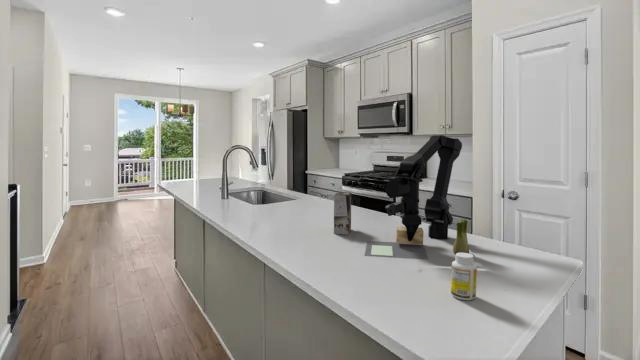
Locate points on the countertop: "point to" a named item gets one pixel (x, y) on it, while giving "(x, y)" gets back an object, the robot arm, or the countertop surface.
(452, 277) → the supplement bottle
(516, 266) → the countertop surface
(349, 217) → the coffee box
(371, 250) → the mat
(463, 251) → the fennel bulb
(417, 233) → the oak block
